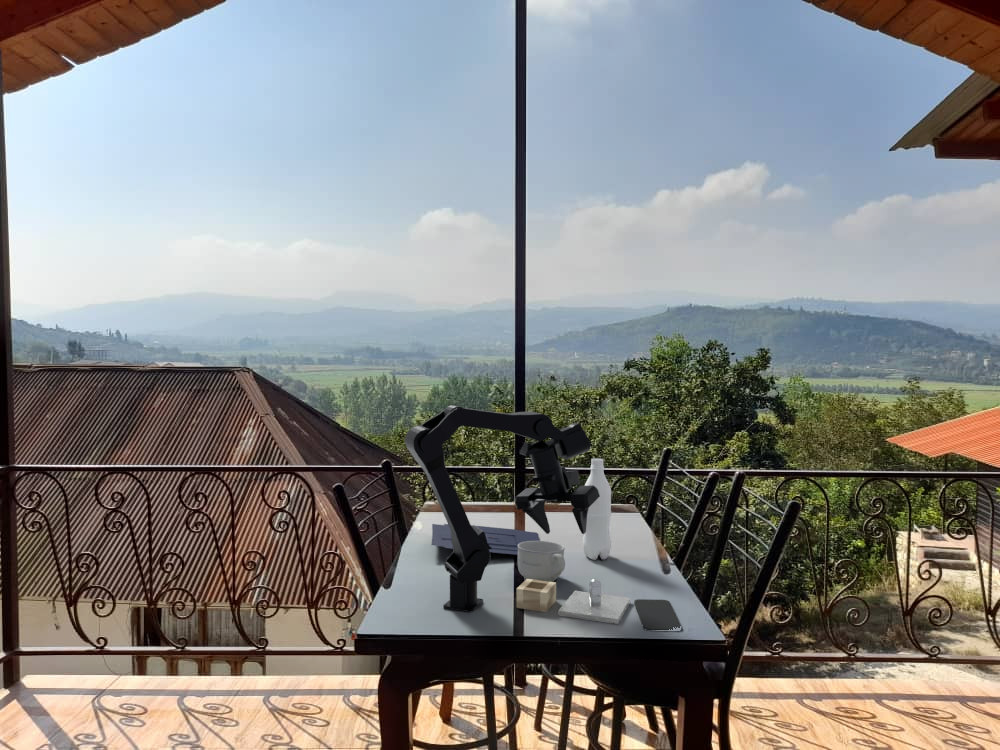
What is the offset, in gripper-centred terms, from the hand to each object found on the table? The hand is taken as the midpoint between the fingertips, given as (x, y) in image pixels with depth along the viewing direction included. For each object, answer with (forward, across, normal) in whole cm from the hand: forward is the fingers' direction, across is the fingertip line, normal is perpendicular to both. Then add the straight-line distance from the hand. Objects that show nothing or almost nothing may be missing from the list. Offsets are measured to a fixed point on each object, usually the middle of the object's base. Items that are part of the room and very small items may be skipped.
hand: (566, 533), depth 155 cm
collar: (+9, +2, +14) cm, 17 cm away
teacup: (+12, +9, +2) cm, 15 cm away
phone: (+15, -20, +6) cm, 26 cm away
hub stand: (+12, -9, +10) cm, 18 cm away
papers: (+11, +35, -13) cm, 39 cm away
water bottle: (+18, +7, -21) cm, 28 cm away
